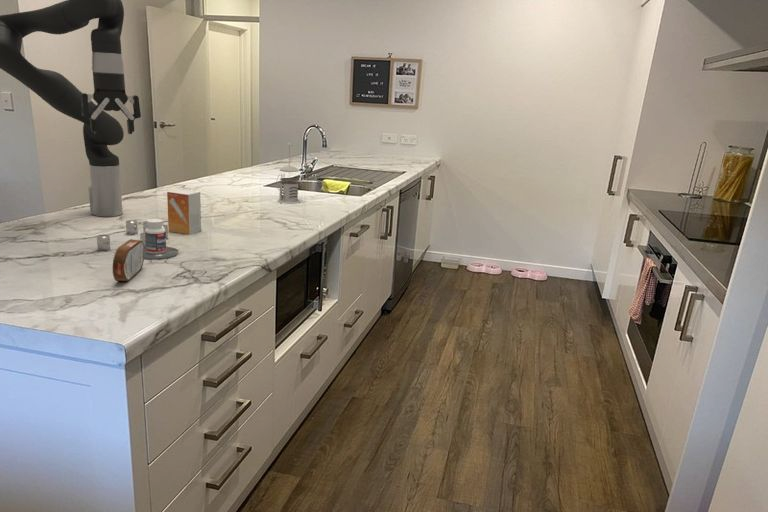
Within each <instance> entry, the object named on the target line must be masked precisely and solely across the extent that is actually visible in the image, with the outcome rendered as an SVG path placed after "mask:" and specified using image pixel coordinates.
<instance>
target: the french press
mask: <svg viewBox="0 0 768 512" xmlns="http://www.w3.org/2000/svg"><path fill="white" fill-rule="evenodd" d="M287 146H289V148H288V149H289V151H288V152H289V153H288V157H289V158H288V162H289V163H288V165H285V166H283V167H281V168H280V169H279V171H280V172H284V173H283V174H282V173H279V174H278V176H277V178H276V181H279V186H278V185H276V188H277V190H278V191H279V199H278V200H277V201H276V202H277V203H278V202H279V204H282V203H284V204H285V205H296V204H295V203H298V204H300V203H301V201H300V200H299V182H297V181H298V178H294V177H286V175H285V173H296V172H297V173H298V172H299V171H300V170H299V168H297V167H295V166H292V165H290V161H291V159H290V157H291V146H293V144H292V142H287ZM279 177H280V178H279ZM278 179H279V180H278ZM299 202H300V203H299Z"/></svg>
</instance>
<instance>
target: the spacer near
mask: <svg viewBox="0 0 768 512" xmlns="http://www.w3.org/2000/svg"><path fill="white" fill-rule="evenodd" d="M96 243H97V244H96V245H97V251H98V252H100V251H106V252H109V251H108V250H110V249H111V238H110V235H109V234H99V235H97V236H96ZM110 251H111V250H110Z"/></svg>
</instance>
